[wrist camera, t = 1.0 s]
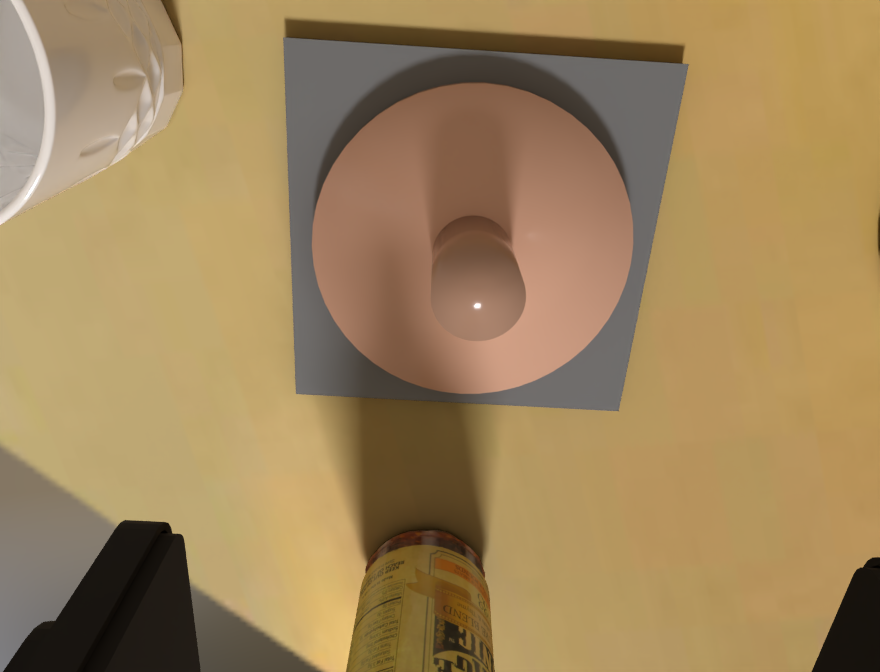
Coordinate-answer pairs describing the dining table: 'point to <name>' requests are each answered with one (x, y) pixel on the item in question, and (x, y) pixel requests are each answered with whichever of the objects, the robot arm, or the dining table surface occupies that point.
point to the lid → (472, 238)
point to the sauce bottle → (423, 608)
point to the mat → (419, 68)
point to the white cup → (79, 91)
